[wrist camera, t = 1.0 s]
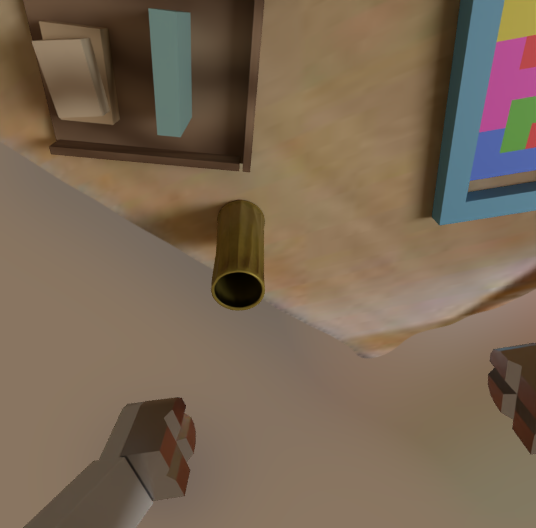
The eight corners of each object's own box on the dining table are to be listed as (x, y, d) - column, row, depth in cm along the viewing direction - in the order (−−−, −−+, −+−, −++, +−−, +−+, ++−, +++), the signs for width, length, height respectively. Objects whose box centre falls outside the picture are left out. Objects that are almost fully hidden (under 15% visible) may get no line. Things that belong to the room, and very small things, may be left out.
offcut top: (43, 39, 30) (31, 41, 29) (89, 37, 30) (80, 39, 29) (69, 112, 34) (59, 117, 32) (110, 110, 34) (102, 116, 32)
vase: (208, 212, 44) (193, 282, 33) (250, 191, 43) (250, 256, 31) (233, 247, 48) (227, 322, 36) (272, 228, 46) (280, 300, 35)
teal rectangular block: (167, 9, 31) (148, 8, 25) (190, 12, 32) (176, 11, 25) (172, 115, 36) (157, 135, 30) (192, 117, 37) (180, 137, 31)
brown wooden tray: (10, -80, 28) (-17, -90, 25) (266, -41, 30) (268, -46, 28) (61, 143, 39) (47, 153, 36) (249, 161, 41) (249, 172, 38)
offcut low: (50, 20, 31) (38, 21, 30) (108, 28, 32) (99, 28, 30) (70, 114, 36) (60, 119, 34) (119, 119, 37) (113, 124, 35)
